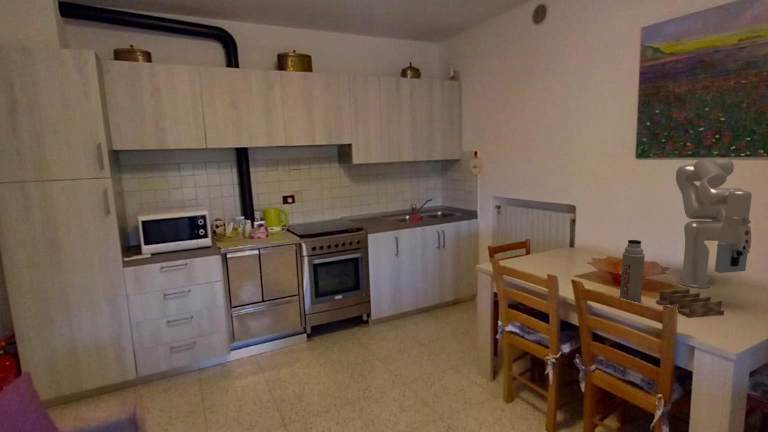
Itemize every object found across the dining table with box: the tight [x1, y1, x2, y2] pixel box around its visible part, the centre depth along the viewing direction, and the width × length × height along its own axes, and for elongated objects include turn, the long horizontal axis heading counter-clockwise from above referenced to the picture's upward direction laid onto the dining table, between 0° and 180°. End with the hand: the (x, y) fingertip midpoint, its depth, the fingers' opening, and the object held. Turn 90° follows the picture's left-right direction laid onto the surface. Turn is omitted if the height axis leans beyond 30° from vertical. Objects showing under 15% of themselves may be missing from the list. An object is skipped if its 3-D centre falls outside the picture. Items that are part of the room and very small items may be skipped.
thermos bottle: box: [619, 239, 645, 304], centre depth 174 cm, size 8×8×28 cm
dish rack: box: [655, 288, 725, 319], centre depth 169 cm, size 16×16×6 cm
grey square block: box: [714, 242, 748, 274], centre depth 167 cm, size 12×2×12 cm, turn 99°
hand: (730, 264), depth 168 cm, fingers closed on grey square block, 2 cm apart
